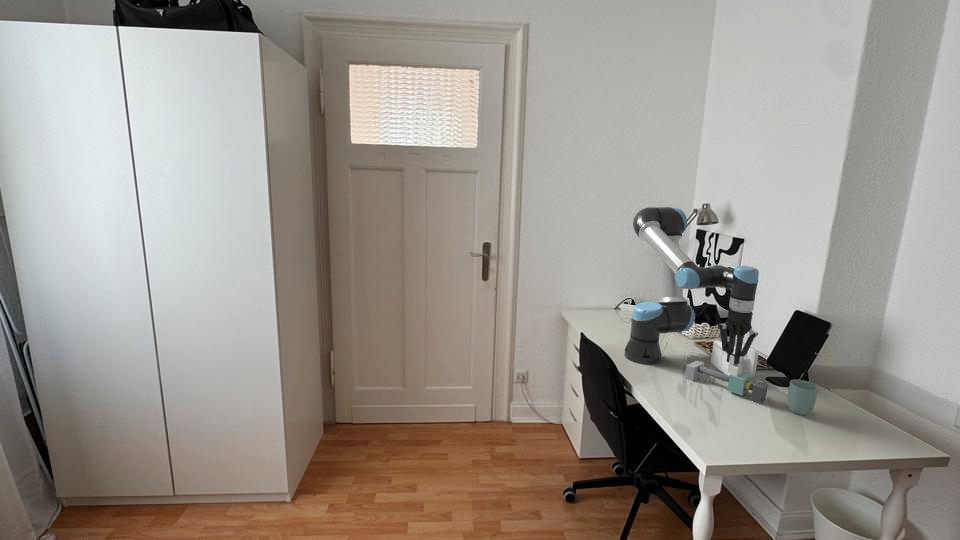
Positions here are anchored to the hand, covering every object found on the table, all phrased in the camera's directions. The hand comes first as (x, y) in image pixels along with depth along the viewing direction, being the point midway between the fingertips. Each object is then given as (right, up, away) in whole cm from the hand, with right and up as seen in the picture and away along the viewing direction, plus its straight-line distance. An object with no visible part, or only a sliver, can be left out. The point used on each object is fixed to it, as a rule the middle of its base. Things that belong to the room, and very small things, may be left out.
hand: (731, 371), depth 167 cm
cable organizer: (+9, -4, +17) cm, 20 cm away
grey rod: (-1, -4, +3) cm, 5 cm away
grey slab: (-8, -5, +11) cm, 15 cm away
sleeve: (+2, -8, -1) cm, 8 cm away
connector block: (+6, -9, -6) cm, 12 cm away
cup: (+16, -11, -13) cm, 23 cm away
